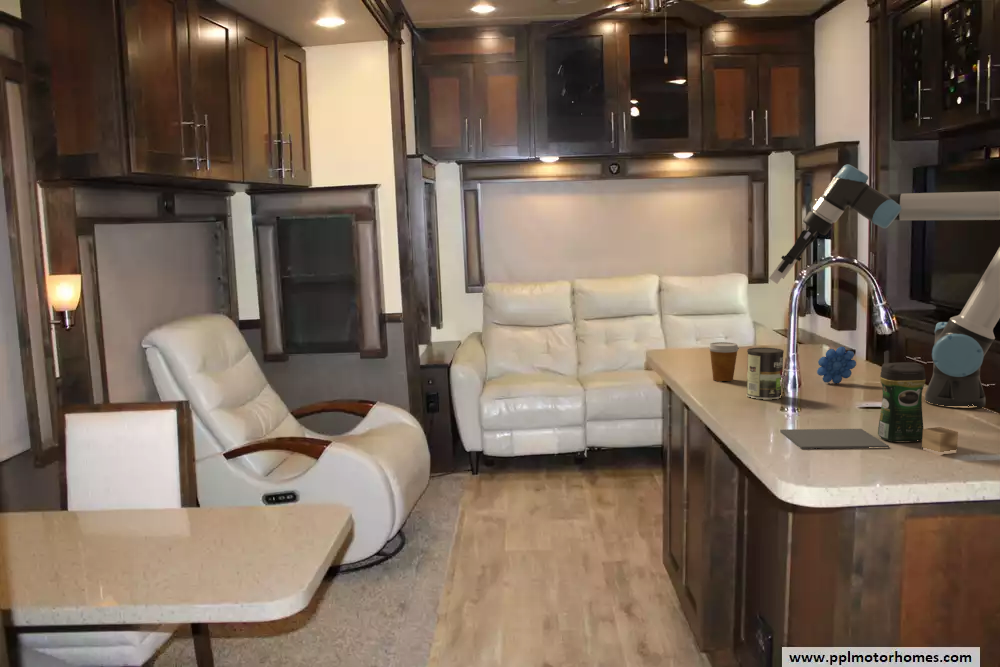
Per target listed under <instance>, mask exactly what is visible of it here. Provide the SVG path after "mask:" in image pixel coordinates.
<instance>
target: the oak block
mask: <svg viewBox="0 0 1000 667" xmlns="http://www.w3.org/2000/svg"><path fill="white" fill-rule="evenodd" d="M958 440H959V431H956V430H952V429H949V428H945V427H943V426H937V427H929V428H927V427H926V428H923V437H922V440H921V448H922V447H923V448H927V449H931V450H934V451H938V452H944V451H950V450H956V449H957V450H958V442H959V441H958Z"/></svg>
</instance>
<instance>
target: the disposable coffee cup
mask: <svg viewBox="0 0 1000 667" xmlns="http://www.w3.org/2000/svg"><path fill="white" fill-rule="evenodd" d="M708 349H709V352H710V353H709V354H710V361H711V362H710V364H711V372H712V380H713V381H714V380H716V381H715V382H718V381H731V382H733V381H734V377H735V376H734V375H735V371H736V363H737V355H738V351H739V346H738V343H735V342H727V341H716V342H710V344H709V347H708ZM732 380H733V381H732Z"/></svg>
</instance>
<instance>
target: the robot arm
mask: <svg viewBox="0 0 1000 667" xmlns="http://www.w3.org/2000/svg"><path fill="white" fill-rule="evenodd" d="M868 179H869V175H867V174H866V173H864V172H863V171H861V170H860V169H858V168H856V167H855V166H853V165H851V164H845V165H843V166H842V167H841V169H839V171H838V172H837V174H836V175H834V177H833V178H832V180H831V181H830V183H829V184H828V185H827V187H826V188H825V190H824V191H823V193H822V194H821V195H820V196H819V198H815V199H814V201H815V203H814V205H813V206H812V210H809V211H808V212H807V214H806V216H805V217H804V218H803V220H802V222H803V223H804V224H805V225H806V226H808V228H807V229H804V230H802V231H801V233H800V234H799V236H798V238H797V239H796V241H795V243H794V244H793V246H792V247H791V248H790V249H789V251H788V252H787V253H786V255H781V257H780V259H782V260H781V262H780V263H779V264H778V265H777V267H775V269H774V271H773V272H772V274H771V275H770V276H769V280H770V281H772V282H773V283H775V284H778V283H779V282H780V281H781V280H782V279H785V277H786V276H787V275H788V274H789V273H790V271H791V270H792V269H793V267H794V266H795V265H796V264H797V261H798V262H800V261H801V260H802V254H803V253H804V252H805V250H806V249H807V248H808V247H810V245H811V244H812V243H813V242H814V241H815V240H816V239H817V237H816V236H817V234H818V233H819V234H821V235H822V236H826V235H827V234H828V233H829V232H830V231H831V229H832V228H833V227H834V226H833V225H834V224H833V223H836V222H838V220H839V219H840V217H841V216H842V215H843V213H844V212H845V210H846V209H847V207H849V208H850V209H851V210H853V211H855V212H857V213H858V214H860V215H861V216H862V217H864V218H865V219H867V220H868V221H870V222H871V223H872V224H874V225H875V226H878V227H880V228H881V229H887V228H889V227H890V226H891V224H892V223H893V222H894V221H985V220H986V221H995V220H996V221H999V220H1000V191H995V190H994V191H964V192H960V191H958V192H957V191H956V192H920V193H919V192H915V193H913V192H911V193H910V192H909V193H882V192H880V191H878V190H877V189H875V188H873V187H872V186H871V185H869V184H868V183H867V182H868ZM999 320H1000V246H999V247H998V249H997V251H996V253H995V255H993V258H992V259H991V261H990V263H989V264H988V266H987V268H986V269H985V271H984V273H983V274H982V276H981V278H980V280H979V281H978V283H977V285H976V287H975V288H974V289H973V291H972V292H971V294H970V296H969V298H968V300H967V301H966V303H965V305H964V306H963V308H962V310H961V312H960V313H959V314H958V315H954V316H952V317H950V318H949V319H948V320H947V321H940V322H937V323H936V324H935V329H934V343H933V344H934V345H933V347H932V350H931V358H932V362H933V370H932V376H931V379H930V382H929V383H928V386H927V388H926V391H925V392H924V393H925V394H924V401H925V400H926V401H928V402H930V403H933V404H938V405H944V406H968V405H969V406H973V405H974V406H977V407H980V408H979V409H981V408H985V407H986V395H985V391H984V388H983V385H982V381H981V377H980V376H981V366H982V365H983V361H984V357H985V355H986V354H987V352H988V350H989V349H990V347H991V345H992V344H993V342H994V340H995V339H996V337H995V334H994V328H995V327H996V325H997V323H998V322H999ZM972 404H973V405H972ZM969 406H968V407H969Z"/></svg>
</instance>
